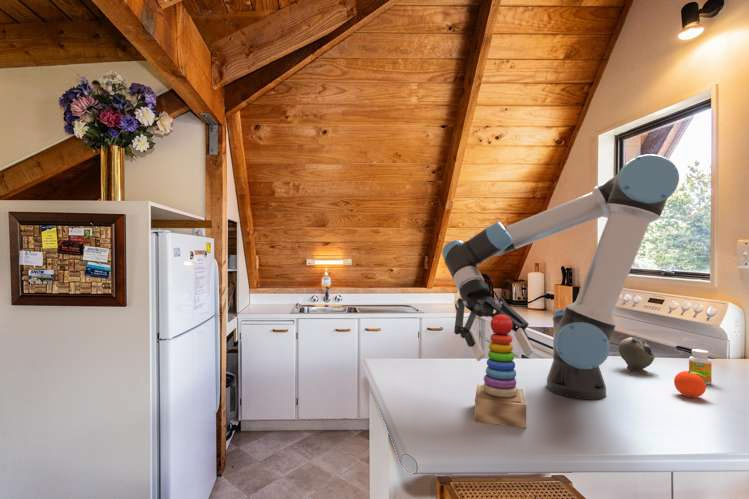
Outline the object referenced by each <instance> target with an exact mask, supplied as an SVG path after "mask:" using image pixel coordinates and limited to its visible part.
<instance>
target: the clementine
mask: <svg viewBox="0 0 749 499" xmlns="http://www.w3.org/2000/svg"><path fill="white" fill-rule="evenodd" d="M698 374H699V373H696V372H690V371H689V370H683V371H680V372H679V373H677V374H676V375H675V376H674V378H673V383H674V388H675V389H676V391H678V392H679V393H680V394H681V395H684V396H685V397H687V398H699V397H702V395H704V393H705V392H706V390H707V384H706V383H705V381H704V379H703V378H702V377H701V376H699V375H698ZM700 375H702V374H700ZM703 376H704V375H703ZM706 378H707V377H706ZM707 379H708V378H707ZM708 380H709V379H708Z"/></svg>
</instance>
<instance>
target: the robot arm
mask: <svg viewBox="0 0 749 499" xmlns="http://www.w3.org/2000/svg"><path fill="white" fill-rule="evenodd" d="M619 170H620V171H619V172H617V174H615V175H614V176H613V177H612V178H611V179H608V180H607V181H605V182H604V183H601V184H598V185H597V186H595V187H593V189H592V191H591V192H590V193H587V194H584V195H581V196H579V197H577V198H574V199H571V200H569V201H566V202H564V203H562V204H561V203H560V204H559V205H556V206H554V207H551V208H549V209H547V210H544V211H541V212H538V213H537V214H534V215H531V216H529V217H526V218H524V219H521V220H520V221H516V222H514V223H511V224H509V225H507V226H506V225H505V226H504V225H503V224H502V222H501V221H500V222H499V221H496V222H494V223H493V224H491V225H488V226H487V227H485V228H484V229H483V230H482V231H480V232H478V233H477V234H475V235H474V236H472V237H471V238H469V239H468V240H467V241H463V240H460V239H454V241H449V242H447V243H446V244H445V245H444V247H443V248H442V251H441V254H442V257H443V260H444V264H445V266H446V267H447V270H448V271H449V274H450V276H451V277H452V280H453V282H454V284H455V287H456V289H457V291H458V292H459V295H460V297H458V299H457V301H456V302H455V304H454V307H455V310H456V313H455V323H454V330H453V331H454V334H455V335H460V337H461V338H462V339H464V340H465V342H466V344H467V346H468V347H469V348H470V347H471V351H473V354H474V356H475V360H476V361H477V362H479V361H481V360H482V359H483V358H484V356H485V354H486V353H485V351H484V349H483V347H482V346H481V343H480V341H479V338H478V337H477V336H478V335H477V334H476V332H475V330H474V329H473V330H471V329H472V327H473V324H474V321H475V320H476V317H478V318H482V317H487V318H491V319H492V318H493V317H494V316H496V315H498V314H503V315H506V316H508V317H509V318H510V319H511V321H512V324H513V327H512V330H511V331H513V332H514V334H513V335H514V337H515V339H516V341H517V343H518V344H519V346H520V348H521V350H522V352H523V354H524V356H525V357H526V358H529V357H530V356H531V355H533V353H534V352H535V350H534V347H533V346H532V344H531V342H530V337H529V336H528V333H527V332H526V329H527V328H528V326H530V323H529V322H527V320H526V319H525V318H524V317H522V316H521V315H520V314H518V313H517V311H515V310H514V309H513V308H512V306H510V305H509V304H508V303H507V302H506V300H505V299H504V298H503V297H499V298H498V299H496V300H495V299H494V298H493V297H492V295H491V290H490V289H489V287H488V284H487V283H486V281H485V279H484V277H483V275H482V274H481V271H480V269H479V268H478V266H479V265H481V264H482V263H483V262H485V261H487V260H488V259H490V258H492V257H494V258H497V257H500V256H503V255H504V254H506V253H509V252H511V251H514V250H516V249H519V248H522V247H524V246H528V245H530V244H532V243H536V242H538V241H541V240H543V239H546V238H548V237H551V236H555V235H557V234H559V233H562V232H565V231H567V230H570V229H572V228H575V227H579V226H580V225H583V224H586V223H589V222H592V221H594V220H595V221H596V220H597V219H600V218H606V219H607V220H606V223H605V225H604V228H603V231H602V232H601V235H600V238H599V240H598V243H597V246H596V248H595V250H594V253H593V256H592V257H591V258H592V259H591V261H590V263H589V266H588V268H587V270H586V271H587V272H586V274H585V276H584V278H583V280H582V284H581V286H580V289H579V292H578V294H577V297H576V300H575V301H574V302H572V303H570V304H567V305H566V306H565V309H560V308H558V309H555V310H554V311H553V316H552V322H553V327H552V328H553V339H552V341H553V352H552V353H553V356H552V357H553V360H552V363H551V366H550V369H549V371H548V373H547V377H546V388H547V389H548V390H550V391H552V392H553V393H556V394H558V395H562V396H566V397H569V398H575V399H581V400H600V399H602V398H605V397H606V396H607V385H606V383H605V381H604V380H605V379H604V376H603V374H602V370H601V368H600V366H602V364H604V363H605V362H606V360H607V359H608V356H609V354H610V349H611V346H610V345H611V344H610V341H611V338H612V336H613V334H614V331H615V328H616V325H617V322H616V321H615V319H614V316H613V315H614V312H615V308H616V306H617V304H618V302H619V300H620V297H621V294H622V292H623V290H624V287H625V284H626V282H627V279H628V277H629V275H630V271H631V269H632V267H633V264H634V262H635V260H636V257H637V255H638V252H639V250H640V248H641V245H642V242H643V240H644V238H645V235H646V232H647V229H648V227H649V226H650V224H651V223H652V222H655V221H657V220H659V219H661V215H662V213H663V210H664V209H665V205H666V203H667V201H668V199H669V198H670V197H671V196H672V195H673V194H674V192H675V191H676V190H677V187H678V185H679V182H680V174H679V170H678V168H677V166H676V165H675V164H674V163H673V162H672V160H670V159H668V158H667V157H665V156H662V155H658V154H653V153H651V154H642V155H639V156H637V157H635V158H632V159H630V160H628V161H627V162H626V163H624V164H623V166H622V167H621V169H619ZM465 308H466V309H467V310H469V311H470V313H469V315H468V318H467V321H466V322H465V325H464V315H465ZM494 311H495V312H494Z"/></svg>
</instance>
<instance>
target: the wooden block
mask: <svg viewBox="0 0 749 499" xmlns="http://www.w3.org/2000/svg"><path fill="white" fill-rule="evenodd" d="M483 385H484V384H477V385H476V390H475V398H474V412H475V413H474V422H477V423H478V422H479V423H484V424H485V423H486V424H491V425H492V424H493V425H494V424H495V425H501V426H508V427H517V428H524V429H527V402H526V396H525V392H524V389H522V388H521V389H520V388H518V393H517V394H516V395H515V396H513V397H497V396H493V395H490V394H488V393H486V392H485V391H484V389H483Z"/></svg>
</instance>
